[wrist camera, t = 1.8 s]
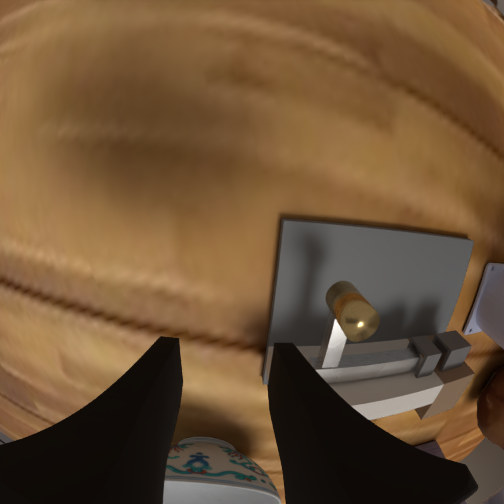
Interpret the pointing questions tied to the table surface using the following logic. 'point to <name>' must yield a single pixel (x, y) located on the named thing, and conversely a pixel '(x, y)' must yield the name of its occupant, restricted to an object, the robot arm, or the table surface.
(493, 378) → the butternut squash
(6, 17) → the table surface
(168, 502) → the chinaware
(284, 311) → the door
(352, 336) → the bolt
